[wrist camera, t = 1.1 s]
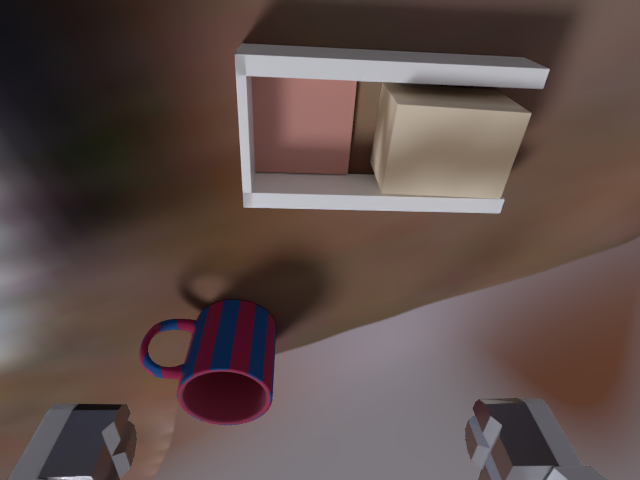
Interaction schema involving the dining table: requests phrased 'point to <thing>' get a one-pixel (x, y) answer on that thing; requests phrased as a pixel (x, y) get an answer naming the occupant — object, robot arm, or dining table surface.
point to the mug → (222, 362)
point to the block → (445, 140)
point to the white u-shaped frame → (341, 121)
